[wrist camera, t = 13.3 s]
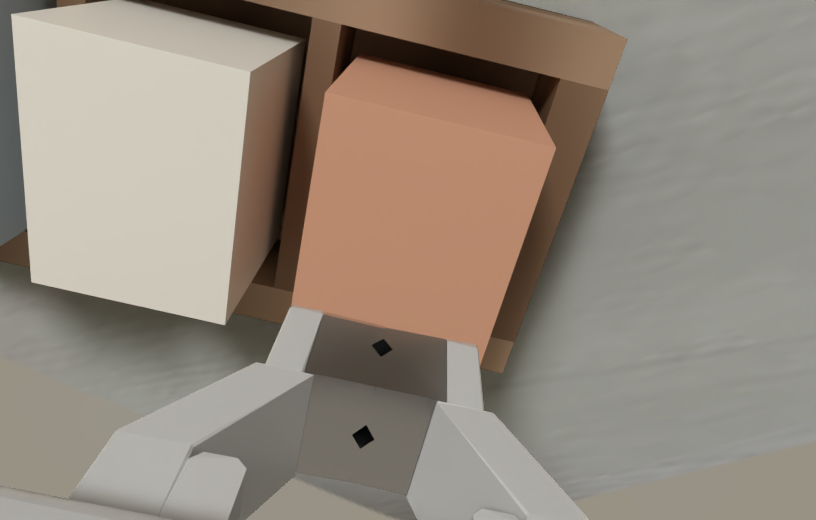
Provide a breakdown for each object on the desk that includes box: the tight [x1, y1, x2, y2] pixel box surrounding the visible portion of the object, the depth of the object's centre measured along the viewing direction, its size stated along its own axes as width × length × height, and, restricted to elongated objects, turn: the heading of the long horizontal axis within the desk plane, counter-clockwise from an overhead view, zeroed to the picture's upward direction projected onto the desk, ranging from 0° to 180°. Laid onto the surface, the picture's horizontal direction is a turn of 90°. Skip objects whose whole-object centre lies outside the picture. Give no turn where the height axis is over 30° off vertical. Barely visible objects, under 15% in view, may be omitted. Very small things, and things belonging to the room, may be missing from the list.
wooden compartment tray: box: [0, 0, 628, 373], centre depth 18 cm, size 20×10×4 cm, turn 77°
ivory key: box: [11, 0, 306, 325], centre depth 15 cm, size 5×6×5 cm
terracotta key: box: [291, 53, 556, 364], centre depth 15 cm, size 5×6×5 cm
